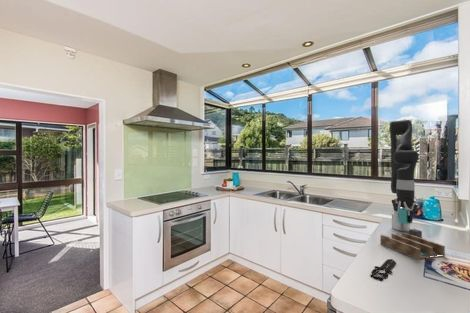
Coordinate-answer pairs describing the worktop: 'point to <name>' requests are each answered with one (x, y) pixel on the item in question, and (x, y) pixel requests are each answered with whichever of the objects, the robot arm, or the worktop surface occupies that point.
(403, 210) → the teal plug
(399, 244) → the wooden bookshelf
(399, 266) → the worktop surface
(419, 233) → the charcoal plug
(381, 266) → the black bumpy piece
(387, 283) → the worktop surface
